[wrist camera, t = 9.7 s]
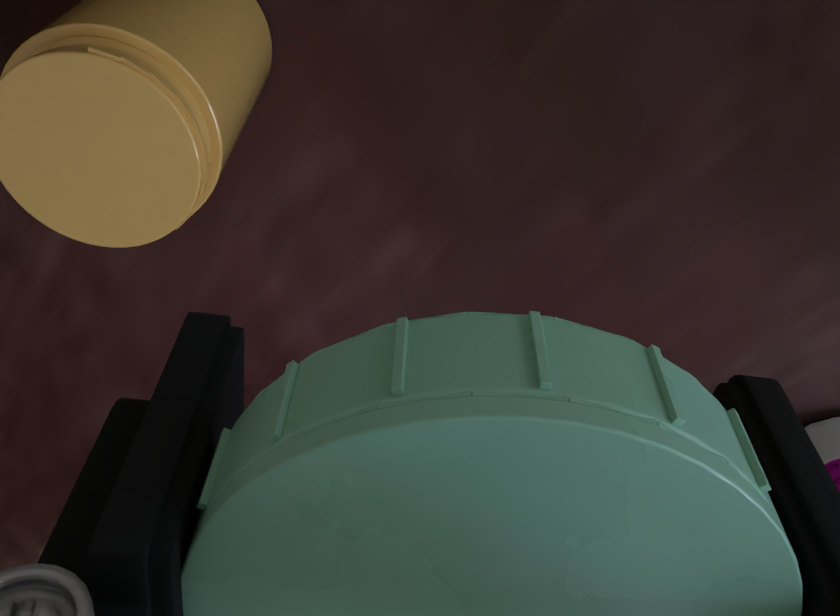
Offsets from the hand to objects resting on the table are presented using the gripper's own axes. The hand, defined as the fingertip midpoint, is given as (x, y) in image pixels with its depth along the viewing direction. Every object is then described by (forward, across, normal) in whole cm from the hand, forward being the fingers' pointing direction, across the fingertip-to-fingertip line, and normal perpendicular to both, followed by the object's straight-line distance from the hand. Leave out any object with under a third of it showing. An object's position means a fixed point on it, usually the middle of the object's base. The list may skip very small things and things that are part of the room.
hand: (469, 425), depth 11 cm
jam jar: (+22, +10, +2) cm, 24 cm away
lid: (-3, 0, 0) cm, 3 cm away
